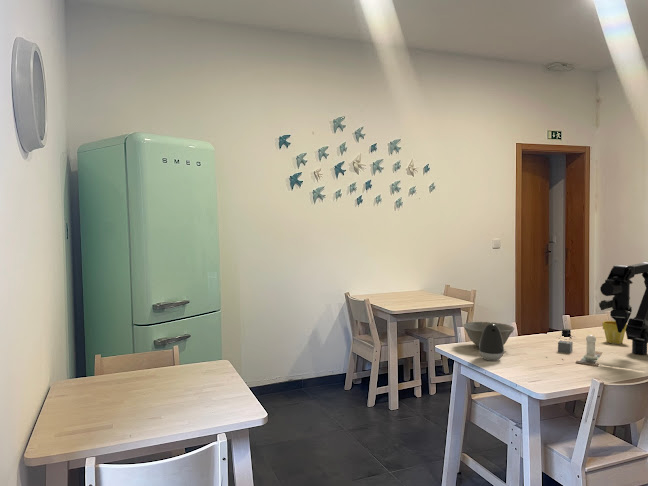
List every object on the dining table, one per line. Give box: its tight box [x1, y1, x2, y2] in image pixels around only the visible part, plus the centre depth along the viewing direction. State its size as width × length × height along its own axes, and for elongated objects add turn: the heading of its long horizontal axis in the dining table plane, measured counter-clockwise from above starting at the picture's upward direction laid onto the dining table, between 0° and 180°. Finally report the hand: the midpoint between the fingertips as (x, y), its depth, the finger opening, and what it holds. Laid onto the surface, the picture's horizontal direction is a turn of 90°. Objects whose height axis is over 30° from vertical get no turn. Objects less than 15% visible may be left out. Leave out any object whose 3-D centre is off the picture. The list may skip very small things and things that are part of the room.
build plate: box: [561, 328, 572, 337], centre depth 256 cm, size 12×7×5 cm, turn 134°
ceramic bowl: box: [463, 321, 515, 348], centre depth 233 cm, size 22×23×10 cm
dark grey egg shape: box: [478, 324, 505, 362], centre depth 212 cm, size 10×10×15 cm
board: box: [575, 350, 604, 367], centre depth 215 cm, size 26×8×1 cm, turn 144°
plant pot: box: [602, 320, 628, 345], centre depth 245 cm, size 10×10×10 cm
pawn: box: [583, 334, 598, 361], centre depth 212 cm, size 5×5×10 cm
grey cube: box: [557, 339, 573, 354], centre depth 224 cm, size 5×5×5 cm
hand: (621, 330), depth 215 cm, fingers open, 9 cm apart
